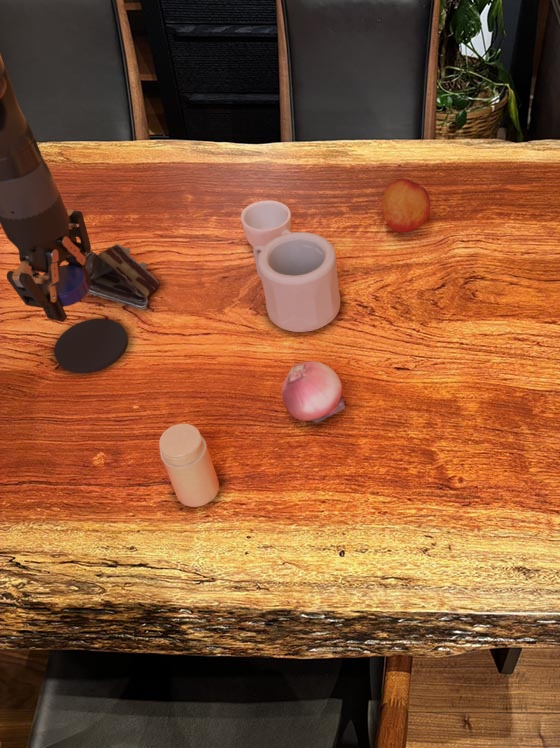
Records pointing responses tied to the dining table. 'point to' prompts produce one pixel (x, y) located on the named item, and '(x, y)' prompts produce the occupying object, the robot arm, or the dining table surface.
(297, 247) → the mug
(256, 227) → the teacup
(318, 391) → the onion
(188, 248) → the dining table surface
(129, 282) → the chocolate cake
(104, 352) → the trivet
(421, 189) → the fruit
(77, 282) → the jar lid
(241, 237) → the dining table surface
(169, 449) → the jar
